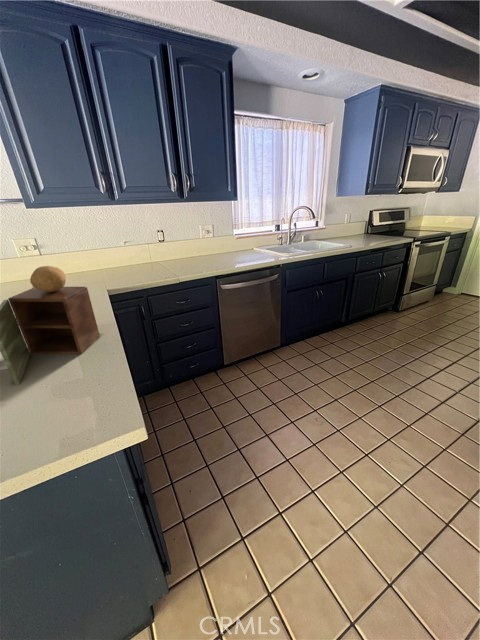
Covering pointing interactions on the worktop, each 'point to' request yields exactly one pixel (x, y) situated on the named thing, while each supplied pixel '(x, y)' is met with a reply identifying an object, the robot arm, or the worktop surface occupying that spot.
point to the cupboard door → (12, 344)
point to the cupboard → (56, 320)
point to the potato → (48, 279)
